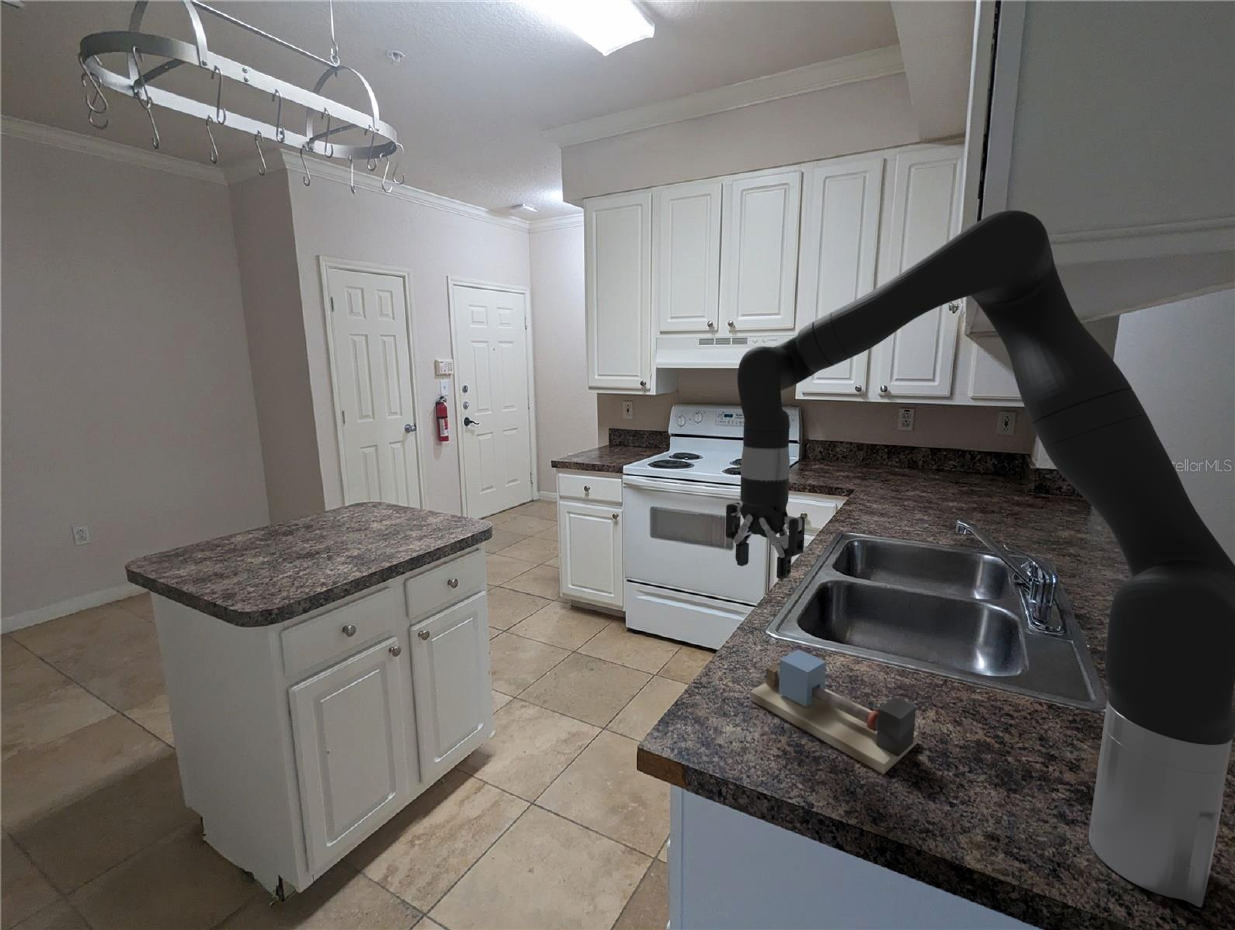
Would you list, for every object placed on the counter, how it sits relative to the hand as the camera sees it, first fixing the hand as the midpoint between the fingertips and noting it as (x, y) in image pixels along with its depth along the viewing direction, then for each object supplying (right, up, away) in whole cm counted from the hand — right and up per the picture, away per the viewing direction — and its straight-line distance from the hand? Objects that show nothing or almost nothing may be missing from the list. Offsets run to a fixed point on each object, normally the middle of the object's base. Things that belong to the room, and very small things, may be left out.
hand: (761, 571), depth 91 cm
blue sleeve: (+6, -19, -3) cm, 20 cm away
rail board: (+9, -22, -6) cm, 24 cm away
